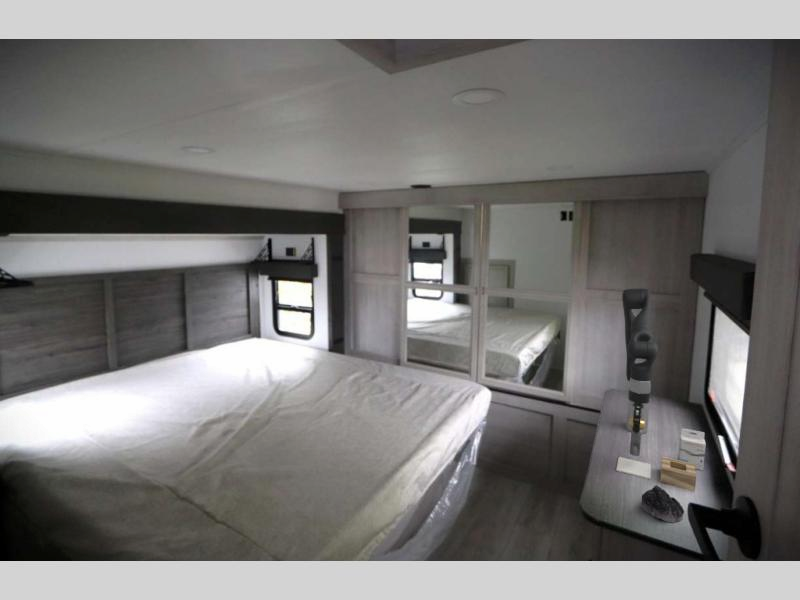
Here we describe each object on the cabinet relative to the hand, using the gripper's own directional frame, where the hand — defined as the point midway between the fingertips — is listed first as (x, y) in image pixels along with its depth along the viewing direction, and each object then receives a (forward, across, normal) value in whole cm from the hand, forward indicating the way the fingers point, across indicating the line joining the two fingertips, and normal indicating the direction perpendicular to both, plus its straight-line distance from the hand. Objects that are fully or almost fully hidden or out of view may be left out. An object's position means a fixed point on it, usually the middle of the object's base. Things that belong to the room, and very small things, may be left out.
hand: (636, 428), depth 170 cm
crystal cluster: (+18, +26, +10) cm, 33 cm away
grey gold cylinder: (+11, 0, 0) cm, 11 cm away
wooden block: (+17, +1, +15) cm, 23 cm away
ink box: (+18, -15, +20) cm, 31 cm away
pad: (+17, 0, 0) cm, 17 cm away
